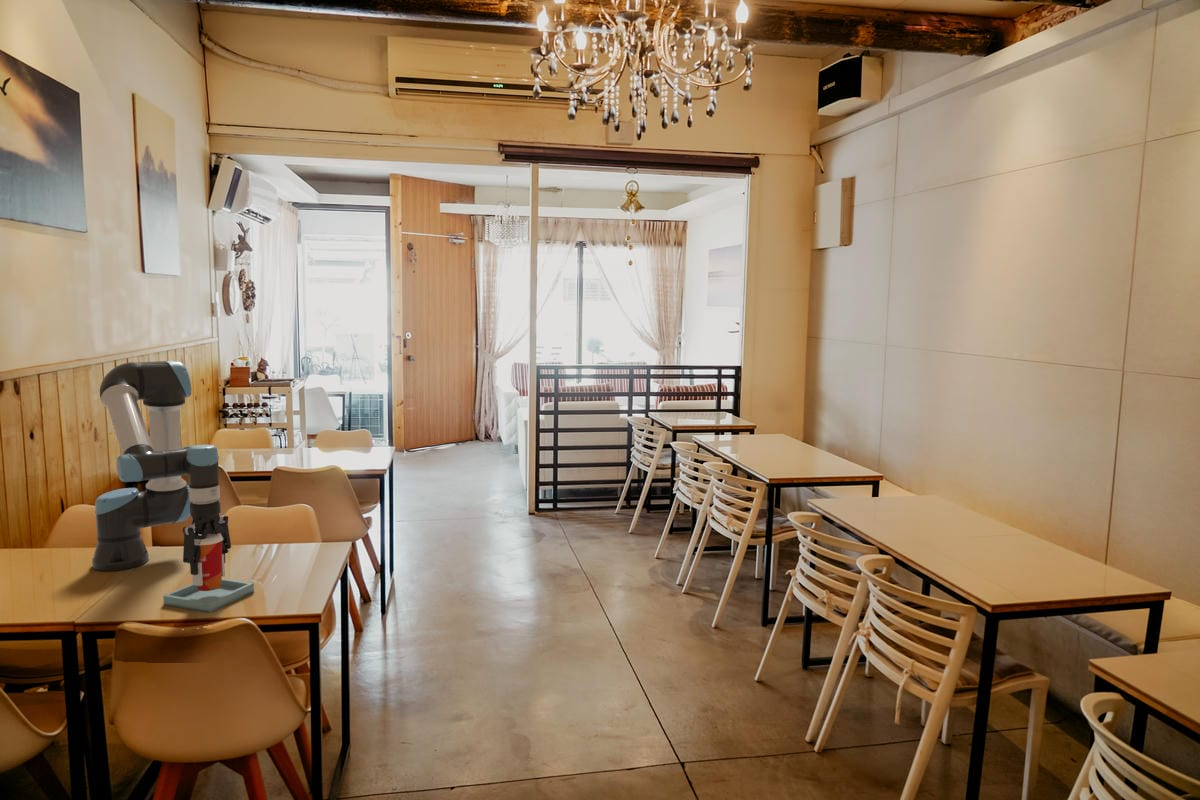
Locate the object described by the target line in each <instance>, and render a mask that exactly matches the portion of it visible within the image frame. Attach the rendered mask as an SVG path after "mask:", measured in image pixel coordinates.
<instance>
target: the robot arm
mask: <svg viewBox="0 0 1200 800" xmlns="http://www.w3.org/2000/svg"><path fill="white" fill-rule="evenodd" d="M191 395H192V382H191V378H190V375H189V372H188V369H187V368H186V365H185V364H184V363H183V362H181V361H174V360H173V361H170V360H164V361H161V360H160V361H140V362H139V361H138V362H126V363H121V364H119V365H117V366H115V367H114V368H112V369H111V370H110V371H109V372H108V373H107V374H106V375H105V376H104V378H103V379H102V382H101V383H100V387H99V397H100V401H101V404H102V405H103V406H104V407H105V408H107V410H108V413H109V417H110V420H111V423H112V425H113V429H114V432H115V436H116V439H117V442H118V445H119V449H120V452H121V454H122V455H119V456H118V457H117V458H116V471H117V477H118V479H119V480H120V481H121V482H123V483H130V482H131V483H132V482H142V481H148V482H146V483H145V490H144V491H139V490H138V488H137V487H127V488H126V487H124V488H119V489H114V490H111V491H108V492H105V493H103V494H101V495H99V496H98V497H96V499H95V503H94V504H95V505H94V506H95V507H94V515H95V521H96V538H97V541H96V543H97V544H96V547H95V550H94V555H93V558H92V559H91V563H92V564H91V566H92V569H93V570H95V571H101V572H113V571H114V572H115V571H122V570H123V571H124V570H128V569H132V568H136V567H139V566H141V565H144V564H145V563H147V562H149V556H150V555H149V551H148V550H147V547H146V545H145V543H144V541H143V538H142V535H141V534H142V533H141V529H143V528H145V529H146V528H150V527H157V526H158V527H159V526H164V525H168V524H169V525H170V524H176V523H179V522H180V523H181V522H185V521H187V520H188V519H189V518H190V516H191V518H192V520H191V524H190V525H188V526H184V527H182V533H183V554H182V562H183V563H184V564H189V569H190V574H191V576H192V577H191V578H192V584H193V585H197V586H202V585H203V580H202V562H199V559H200V555H201V549H200V545H194V541H195V539H200V541H201V539H205V538H206V536H207V534H218V533H221V535H222V537H223V540H222V578H224V577H225V573H226V572H225V571H226V569H225V564H226V554H228V553H229V550H230V549H231V548H232V542H231V537H230V530H229V525H228V524H229V516H228V515H222V514H221V512H222V510H221V501H220V498H221V495H220V492H221V491H220V471H219V459H220V458H219V453H218V447H217V446H216V445H214V444H197V445H196V444H195V445H192V446H191V445H187V446H183V447H182V443H181V408H182V407H183V406H184V405H185V404H186V398H189V397H191ZM139 400H140V401H141V400H142V404H143V406H145V407H146V408H147V409H148V418H149V419H148V421H149V425H148V426H149V431H148V430H147V427H146V424H145V421H144V417H143V415H142V412H141V409H140V407H139V403H138V401H139ZM183 476H187V477H188V485H187V481H186V480H185V479H183V478H182V477H183ZM220 514H221V515H220ZM198 534H199V535H198ZM199 544H200V543H199ZM194 558H195V559H194Z"/></svg>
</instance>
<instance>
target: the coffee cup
mask: <svg viewBox="0 0 1200 800" xmlns="http://www.w3.org/2000/svg"><path fill="white" fill-rule="evenodd" d="M198 535H200V534H198ZM222 540H223V537H222V535H221V533H218V534H207V536H206V538H205V539H201V541H200V539H195V541H194V545H200V549H201V555H200V559H199V562H202V580H203V585H202V586H197V588H198V590H199V591H211V590H215V589H218V588H220V587H221V581H222V578H223V577H222ZM199 543H200V544H199ZM194 559H195V558H194Z"/></svg>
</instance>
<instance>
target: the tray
mask: <svg viewBox="0 0 1200 800" xmlns="http://www.w3.org/2000/svg"><path fill="white" fill-rule="evenodd" d="M254 584H255V583H254V582H247V581H242V580H237V579H236V580H234V579H230V578H229V579H227V578H224V577H222V581H221V587H220V588H218V589H215V590H211V591H199V590H198V588H197V585H193V583H190V584H189V585H186V586H184V587H181V588H179V589H177V590H174V591H171V592H170V593H167V594H165V595H163V606H167V607H168V606H169V607H173V608H179V609H180V608H181V609H186V610H190V611H191V610H192V611H197V612H203V613H208V614H210V613H212V612H214V611H217V610H219V609H221V608H223V607H225V606H228V605H229V604H232V603H233V602H235V601H238V600H239V599H242V598H244V597H246V596H249V595H251V594H252V593H253V594H254V592H255V585H254Z"/></svg>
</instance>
